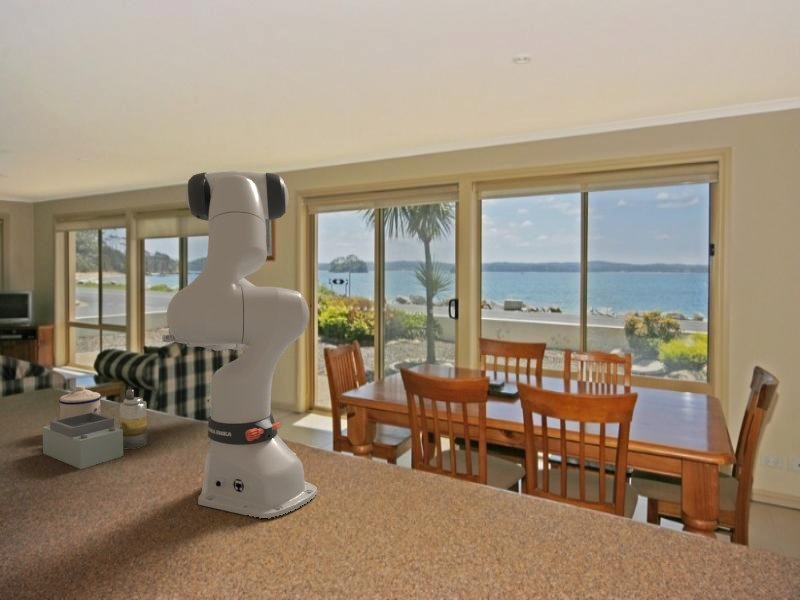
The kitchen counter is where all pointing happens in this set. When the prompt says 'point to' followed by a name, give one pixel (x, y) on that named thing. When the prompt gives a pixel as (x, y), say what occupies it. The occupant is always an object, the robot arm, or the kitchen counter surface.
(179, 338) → the robot arm
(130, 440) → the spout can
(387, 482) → the kitchen counter surface
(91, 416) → the block
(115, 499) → the kitchen counter surface
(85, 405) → the teacup with lid
